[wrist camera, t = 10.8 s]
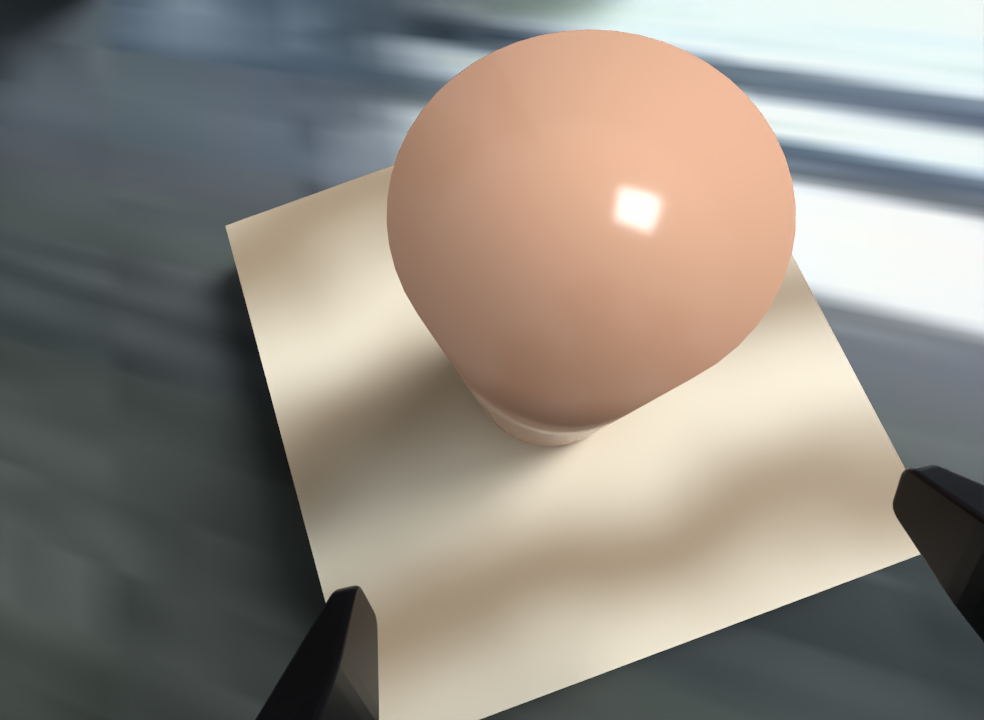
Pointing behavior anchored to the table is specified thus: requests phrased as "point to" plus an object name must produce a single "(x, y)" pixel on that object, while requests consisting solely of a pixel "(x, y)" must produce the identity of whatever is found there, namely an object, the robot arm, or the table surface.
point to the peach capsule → (588, 226)
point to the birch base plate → (548, 479)
